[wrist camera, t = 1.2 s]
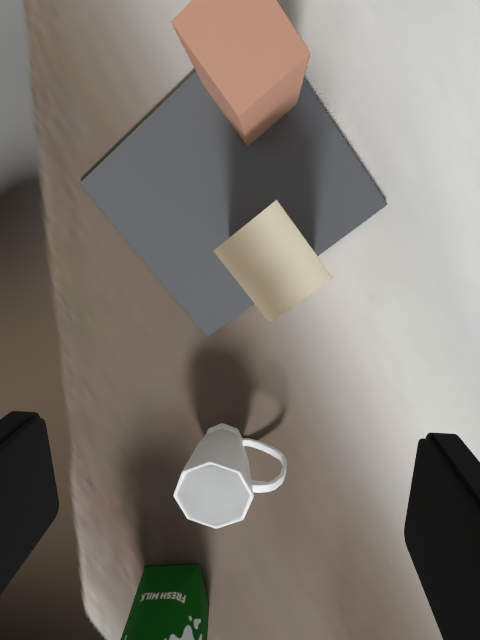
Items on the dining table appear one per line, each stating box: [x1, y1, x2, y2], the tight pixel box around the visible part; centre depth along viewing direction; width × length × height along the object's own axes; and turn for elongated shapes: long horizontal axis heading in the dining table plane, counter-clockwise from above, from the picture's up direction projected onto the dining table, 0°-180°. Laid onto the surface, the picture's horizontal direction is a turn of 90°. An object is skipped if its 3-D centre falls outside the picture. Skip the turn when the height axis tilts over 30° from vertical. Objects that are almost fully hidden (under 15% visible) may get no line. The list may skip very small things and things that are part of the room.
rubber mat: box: [79, 71, 387, 338], centre depth 32 cm, size 20×18×1 cm
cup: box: [173, 423, 286, 529], centre depth 35 cm, size 7×10×8 cm
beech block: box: [214, 200, 333, 323], centre depth 28 cm, size 5×6×10 cm
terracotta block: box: [171, 0, 310, 146], centre depth 25 cm, size 5×6×10 cm
